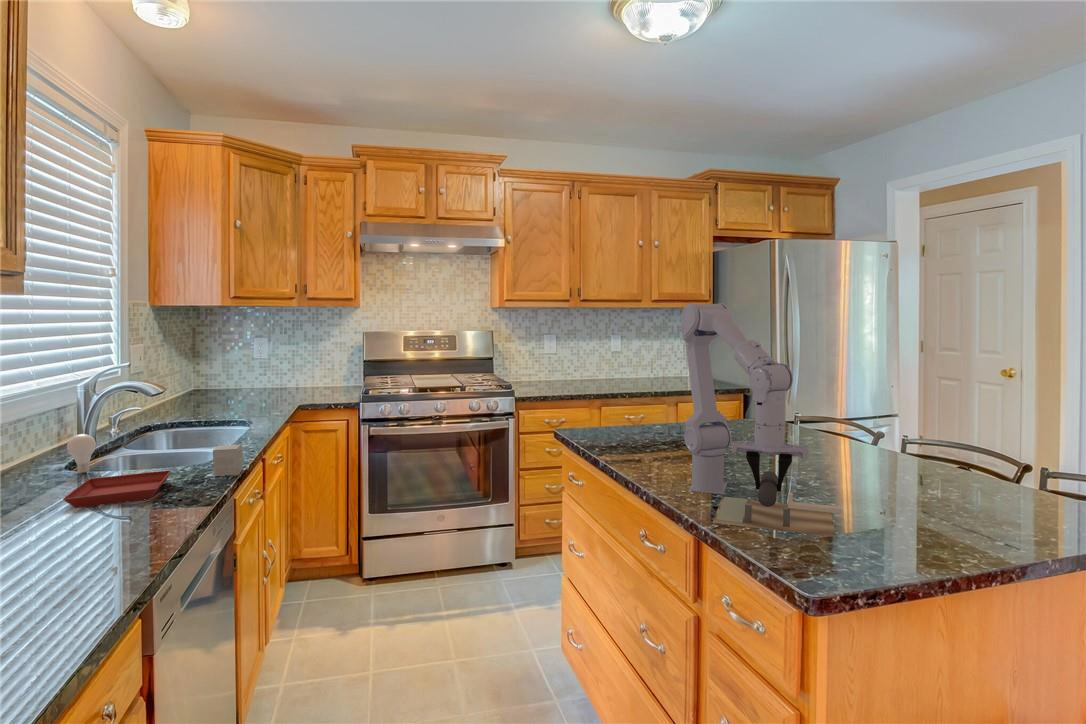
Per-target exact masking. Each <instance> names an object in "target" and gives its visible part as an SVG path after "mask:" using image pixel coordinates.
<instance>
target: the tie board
mask: <svg viewBox="0 0 1086 724" xmlns="http://www.w3.org/2000/svg"><path fill="white" fill-rule="evenodd" d="M712 524H722V525H729V526H738V527H739V526H740V527H747V528H756V529H764V530H765V529H766V530H770V531H771V530H773V531H781V532H789V533H798V534H807V535H814V536H815V535H816V536H824V537H831V538H832V537H833V538H836V537H837V533H836V530H835V524H834V519H833V513H830V512H821V511H811V510H802V509H792V508H788V503H780V502H779V503H778V502H776V503H775V504H774V505H773V506H770V507H766V506H763V505H762V504H760V502H759V500H751V499H749V498H742V497H740V498H739V497H731V496H730V497H729V496H724V497H721V499H720V502H719V504H718V507H717V510H716V512H715V515H714V518H713V520H712Z"/></svg>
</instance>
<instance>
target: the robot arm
mask: <svg viewBox="0 0 1086 724" xmlns="http://www.w3.org/2000/svg"><path fill="white" fill-rule="evenodd" d="M732 312H733V311H732V310H730V309H729V307H728V306H727V305H726V304H725V303H721V302H719V303H688V304H686V305H685V306H684V308H683V310H682V312H681V314H680V326H681V334H682V340H683V341H684V345H685V352H686V359H687V361H686V362H687V368H688V374H689V383H690V384H689V385H690V389H691V390H690V391H691V397H692V398H691V399H692V406H693V407H692V408H693V413H692V414H691V415H690V416H689V417H688V418H687V419H686V420H685V421H684V425H685V430H684V436H683V437H684V445H685V446H686V448H687V449H688V451H689V453H691V458H692V459H691V483H690V486H689V488H688V492H689V491H690V492H699V493H709V494H710V493H711V494H719V495H721V494H722V495H723V494H725V490H726V487H727V485H728V482H725V481H724V474H725V473H724V468H725V467H724V466H725V465H724V462H725V460H724V459H725V458H724V457H725V454H727V450H728V449H729V448H730V447H731V453H744V454H745V453H746V455H745V458H746V461H747V462H748V465H749V467H750V470H751V472H752V475H753V478H754V483H755V490H759V488H760V482H761V475H760V469H761V468H760V466H761V465H760V464H761V463H760V461H761V460H760V459H761V455H770V456H771V455H774V456H778V474H777V477H778V483H777V492H781V491H782V486H783V481H784V479H785V476H786V474H787V472H788V469H789V468H790V466H791V464H792V463H793V457H798V458H799V457H800V458H803V459H804V458H805V459H809V446H806V445H798V444H796V445H795V444H788V443H785V440H786V439H785V437H786V436H785V434H786V433H785V432H786V431H785V430H786V402H787V401H786V396H787V395H786V392H787V391H789V390H790V389H791V388H792V384H793V381H794V379H793V377H794V376H793V373H792V370H791V369H790V367H789V366H788V364H786V363H782V362H778V361H775V360H774V358H773V357H772V356H770V355H769V354H768V353H767V352H766V351H765V349H764V348H763V347H762V344H761V343H760V342H759V341H757V340H752V339H749V340H748V338H747V337H746V336H745V335H744V334H743V331H742V330H741V329H740V328H739V326H738V325H737V323H735V321H734V320H733V313H732ZM717 337H720V338H721V339H722V340H723V341H724V342H726V344H728V346H730V348H731V349H732V350H733V352H734V353H733V358H734V360H735V361H736V362H737V364H738V365H739V366H740V367H741V368H742V369H743V370H744V372H745V373H746V374H747V375H748V377H749V378H748V383H749V387H750V388H751V392H752V399H753V402H755V403H754V405H755V406H754V441H733V435H732V432H731V429H730V427H729V423H728V419H727V417H726V416H725V415H724V414H722V413H721V412H719V410H718V408H717V407H718V406H717V401H716V400H717V398H716V392H715V385H714V378H713V370H712V369H713V368H712V362H711V355H710V348H709V346H710V344H711V343H712V341H714V340H716V338H717ZM702 424H703V425H702Z"/></svg>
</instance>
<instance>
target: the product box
mask: <svg viewBox="0 0 1086 724" xmlns="http://www.w3.org/2000/svg"><path fill="white" fill-rule="evenodd" d="M242 445H243V444H242V443H241V444H240V443H239V444H226V445H217V446H216V447H215V448H214V449H212V461H213V462H212V464H213V477H214V476H220V477H226V476H225V475H233V476H239V475H240V473H241V472H242V471H243V470H244V464H243V463H244V462H243V461H244V460H243V446H242Z"/></svg>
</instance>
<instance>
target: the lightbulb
mask: <svg viewBox="0 0 1086 724" xmlns="http://www.w3.org/2000/svg"><path fill="white" fill-rule="evenodd" d="M66 448H67V452H68V453H69V455H71V456H72V457H73V459H74V461H75V463H76V468H77V473H79V474H82V475H85V474H86V473H88V472H90V469H91V468H90V461H91V457H92V455H93V453H94V452H95V450H96V448H97V442H96V439H95V438H94V437H93V436H91V435H90V434H87V433H79V434H76V435H74V436H72V437H71V438H70V439H69V440H68V441H67V443H66Z"/></svg>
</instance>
